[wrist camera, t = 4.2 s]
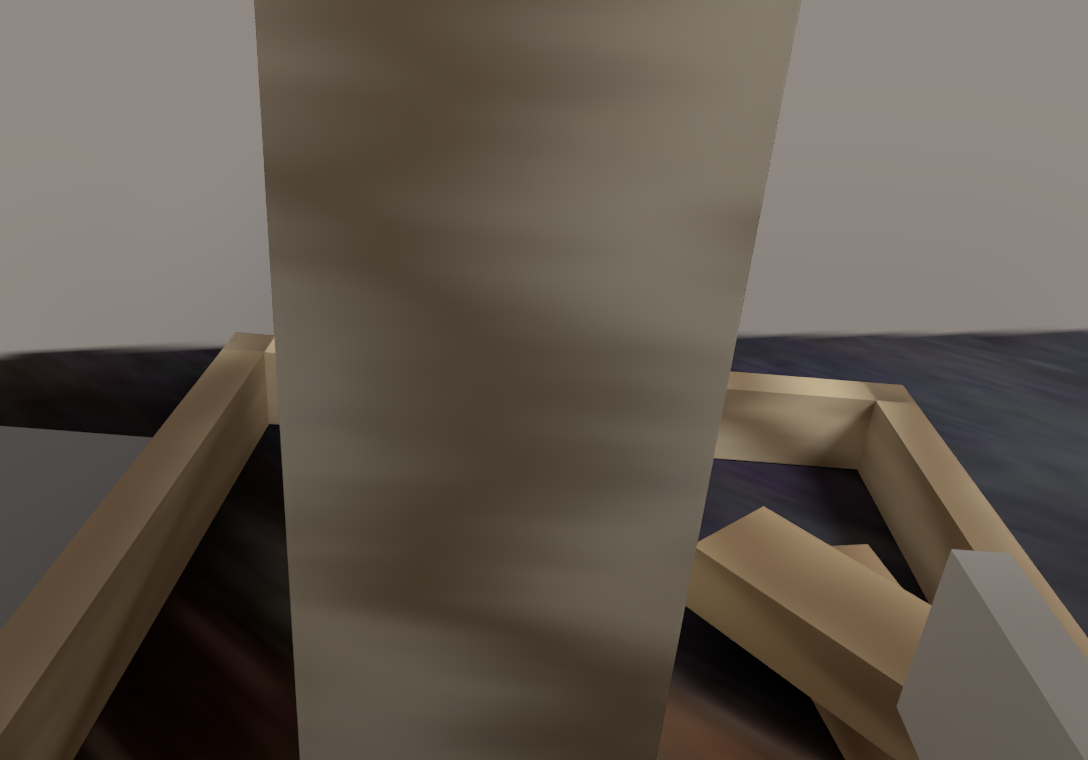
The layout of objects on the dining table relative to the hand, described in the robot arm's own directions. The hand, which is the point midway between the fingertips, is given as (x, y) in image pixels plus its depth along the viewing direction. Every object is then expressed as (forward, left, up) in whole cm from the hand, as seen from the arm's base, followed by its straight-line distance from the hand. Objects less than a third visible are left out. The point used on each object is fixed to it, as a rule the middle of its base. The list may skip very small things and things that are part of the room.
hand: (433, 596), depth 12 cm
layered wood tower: (-1, -7, -10) cm, 12 cm away
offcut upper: (-10, -8, -8) cm, 15 cm away
